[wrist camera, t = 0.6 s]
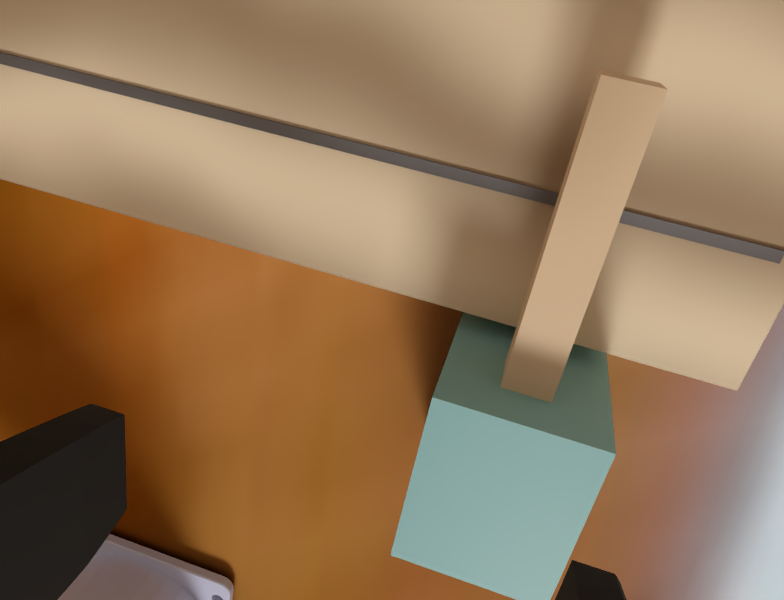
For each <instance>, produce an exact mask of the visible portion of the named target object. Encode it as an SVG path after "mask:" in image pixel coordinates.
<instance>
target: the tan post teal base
mask: <svg viewBox="0 0 784 600" xmlns="http://www.w3.org/2000/svg"><path fill="white" fill-rule="evenodd" d="M667 92H668V89H667V88H666V87H665V86H663V85H662V84H661V83H659V82H654V81H650V80H645V79H641V78H636V77H632V76H627V75H623V74H618V73H614V72H609V71H605V70H600V69H599V70H598V73H597V76H596V79H595V83H594V86H593V89H592V92H591V95H590V98H589V101H588V104H587V108H586V111H585V114H584V117H583V120H582V123H581V126H580V130H579V133H578V136H577V139H576V142H575V145H574V148H573V151H572V155H571V158H570V161H569V164H568V167H567V170H566V173H565V176H564V180H563V183H562V186H561V189H560V192H559V195H558V198H557V202H556V205H555V208H554V211H553V214H552V217H551V220H550V223H549V227H548V230H547V233H546V236H545V239H544V242H543V245H542V249H541V252H540V255H539V258H538V261H537V264H536V267H535V270H534V274H533V277H532V280H531V283H530V286H529V289H528V292H527V296H526V299H525V302H524V305H523V308H522V311H521V314H520V317H519V321H518V324H517V327H514V326H510V325H507V324H503V323H500V322H496V321H493V320H489V319H486V318H482V317H479V316H475V315H472V314H468V313H465V312H463V314H462V317H461V320H460V322H459V325H458V328H457V331H456V333H455V336H454V339H453V342H452V344H451V347H450V350H449V353H448V355H447V358H446V361H445V363H444V366H443V369H442V372H441V374H440V377H439V380H438V383H437V385H436V388H435V391H434V394H433V396H432V400H431V404H430V407H429V411H428V415H427V419H426V423H425V426H424V430H423V434H422V438H421V442H420V445H419V449H418V453H417V457H416V461H415V464H414V468H413V472H412V476H411V479H410V483H409V487H408V491H407V495H406V498H405V502H404V506H403V510H402V514H401V517H400V521H399V525H398V529H397V532H396V536H395V540H394V544H393V548H392V551H391V556H394V557H397V558H400V559H403V560H406V561H408V562H411V563H414V564H417V565H420V566H423V567H426V568H428V569H431V570H434V571H437V572H440V573H443V574H445V575H448V576H451V577H454V578H457V579H460V580H462V581H465V582H468V583H471V584H474V585H477V586H479V587H482V588H485V589H488V590H491V591H494V592H496V593H499V594H502V595H505V596H508V597H511V598H514V599H516V600H550V599H551V597H552V595H553V593H554V590H555V588H556V586H557V584H558V582H559V579H560V577H561V575H562V573H563V571H564V568H565V566H566V564H567V562H568V559H569V557H570V555H571V553H572V551H573V548H574V546H575V544H576V542H577V540H578V537H579V535H580V533H581V531H582V528H583V526H584V524H585V522H586V520H587V517H588V515H589V513H590V511H591V509H592V506H593V504H594V502H595V500H596V497H597V495H598V493H599V491H600V489H601V486H602V484H603V482H604V480H605V477H606V475H607V473H608V471H609V469H610V466H611V464H612V462H613V460H614V458H615V455H616V449H615V439H614V428H613V418H612V407H611V397H610V386H609V376H608V366H607V355H606V353H604V352H600V351H597V350H593V349H590V348H587V347H583V346H580V345H576V344H574V341H575V338H576V336H577V333H578V330H579V328H580V325H581V322H582V320H583V317H584V314H585V312H586V309H587V306H588V304H589V301H590V298H591V296H592V293H593V290H594V287H595V285H596V282H597V279H598V277H599V274H600V271H601V269H602V266H603V263H604V261H605V258H606V255H607V253H608V250H609V247H610V245H611V242H612V239H613V236H614V234H615V231H616V228H617V226H618V223H619V220H620V218H621V215H622V212H623V210H624V207H625V204H626V202H627V199H628V196H629V194H630V191H631V188H632V185H633V183H634V180H635V177H636V175H637V172H638V169H639V167H640V164H641V161H642V159H643V156H644V153H645V151H646V148H647V145H648V143H649V140H650V137H651V134H652V132H653V129H654V126H655V124H656V121H657V118H658V116H659V113H660V110H661V108H662V105H663V102H664V100H665V97H666V94H667Z"/></svg>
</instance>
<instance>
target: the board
mask: <svg viewBox="0 0 784 600" xmlns="http://www.w3.org/2000/svg"><path fill="white" fill-rule="evenodd" d="M599 69H600V70H605V71H609V72H614V73H618V74H623V75H627V76H632V77H636V78H641V79H645V80H650V81H654V82H659V83H661V84H662V85H663V86H665V87H666V88H667V89H668V92H667V94H666V97H665V100H664V102H663V105H662V108H661V110H660V113H659V116H658V118H657V121H656V124H655V126H654V129H653V132H652V134H651V137H650V140H649V143H648V145H647V148H646V151H645V153H644V156H643V159H642V161H641V164H640V167H639V169H638V172H637V175H636V177H635V180H634V183H633V185H632V188H631V191H630V194H629V196H628V199H627V202H626V204H625V207H624V210H623V212H622V215H621V218H620V220H619V223H618V226H617V228H616V231H615V234H614V236H613V239H612V242H611V245H610V247H609V250H608V253H607V255H606V258H605V261H604V263H603V266H602V269H601V271H600V274H599V277H598V279H597V282H596V285H595V287H594V290H593V293H592V296H591V298H590V301H589V304H588V306H587V309H586V312H585V314H584V317H583V320H582V322H581V325H580V328H579V330H578V333H577V336H576V338H575V341H574V344H576V345H580V346H583V347H587V348H590V349H593V350H597V351H600V352H604V353H607V354H611V355H614V356H618V357H621V358H625V359H628V360H632V361H635V362H639V363H642V364H646V365H649V366H653V367H656V368H660V369H663V370H667V371H670V372H673V373H677V374H680V375H684V376H687V377H691V378H694V379H698V380H701V381H705V382H708V383H712V384H715V385H719V386H722V387H726V388H729V389H733V390H736V391H737V390H738V388H739V386H740V384H741V383H742V381H743V379H744V377H745V375H746V373H747V371H748V369H749V368H750V366H751V364H752V362H753V360H754V358H755V356H756V354H757V353H758V351H759V349H760V347H761V345H762V343H763V341H764V339H765V338H766V336H767V334H768V332H769V330H770V328H771V326H772V324H773V323H774V321H775V319H776V317H777V315H778V313H779V311H780V309H781V308H782V306H783V304H784V0H0V179H2V180H6V181H9V182H13V183H16V184H20V185H23V186H27V187H30V188H34V189H37V190H41V191H44V192H48V193H51V194H54V195H58V196H61V197H65V198H68V199H72V200H75V201H79V202H82V203H86V204H89V205H93V206H96V207H100V208H103V209H107V210H110V211H114V212H117V213H121V214H124V215H127V216H131V217H134V218H138V219H141V220H145V221H148V222H152V223H155V224H159V225H162V226H166V227H169V228H173V229H176V230H180V231H183V232H187V233H190V234H194V235H197V236H201V237H204V238H207V239H211V240H214V241H218V242H221V243H225V244H228V245H232V246H235V247H239V248H242V249H246V250H249V251H253V252H256V253H260V254H263V255H267V256H270V257H274V258H277V259H281V260H284V261H287V262H291V263H294V264H298V265H301V266H305V267H308V268H312V269H315V270H319V271H322V272H326V273H329V274H333V275H336V276H340V277H343V278H347V279H350V280H354V281H357V282H360V283H364V284H367V285H371V286H374V287H378V288H381V289H385V290H388V291H392V292H395V293H399V294H402V295H406V296H409V297H413V298H416V299H420V300H423V301H427V302H430V303H434V304H437V305H440V306H444V307H447V308H451V309H454V310H458V311H461V312H465V313H468V314H472V315H475V316H479V317H482V318H486V319H489V320H493V321H496V322H500V323H503V324H507V325H510V326H514V327H517V324H518V321H519V317H520V314H521V311H522V308H523V305H524V302H525V299H526V296H527V292H528V289H529V286H530V283H531V280H532V277H533V274H534V270H535V267H536V264H537V261H538V258H539V255H540V252H541V249H542V245H543V242H544V239H545V236H546V233H547V230H548V227H549V223H550V220H551V217H552V214H553V211H554V208H555V205H556V202H557V198H558V195H559V192H560V189H561V186H562V183H563V180H564V176H565V173H566V170H567V167H568V164H569V161H570V158H571V155H572V151H573V148H574V145H575V142H576V139H577V136H578V133H579V130H580V126H581V123H582V120H583V117H584V114H585V111H586V108H587V104H588V101H589V98H590V95H591V92H592V89H593V86H594V83H595V79H596V76H597V73H598V70H599Z"/></svg>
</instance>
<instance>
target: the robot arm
mask: <svg viewBox="0 0 784 600" xmlns="http://www.w3.org/2000/svg"><path fill="white" fill-rule="evenodd" d="M126 509H127V499H126V459H125V420H124V414H121V413H118V412H115V411H112V410H109V409H106V408H103V407H99V406H96V405H93V404H89V405H87V406H84V407H81V408H79V409H76V410H74V411H71V412H69V413H66V414H64V415H62V416H59V417H57V418H54V419H52V420H50V421H47V422H45V423H43V424H40V425H38V426H36V427H33V428H31V429H29V430H26V431H24V432H22V433H20V434H17V435H15V436H13V437H10V438H8V439H6V440H3V441H1V442H0V600H233V592H234V587H233V584H232V582H231V581H230V580H229V579H228V578H226V577H225V576H222V575H219V574H217V573H214V572H211V571H209V570H206V569H203V568H201V567H198V566H195V565H193V564H190V563H187V562H185V561H182V560H179V559H176V558H174V557H171V556H168V555H166V554H163V553H160V552H158V551H155V550H152V549H150V548H147V547H144V546H141V545H139V544H136V543H133V542H131V541H128V540H125V539H123V538H120V537H117V536H115V535H112V534H110V533H111V531H112V530H113V528H114V527H115V525H116V524H117V522H118V521H119V519H120V518H121V516H122V515H123V513H124V512H125V510H126ZM555 600H626V598H625V595H624V592H623V589H622V586H621V584H620V582H619V580H618V578H617V576H616V575H615V574H613V573H610V572H607V571H604V570H601V569H598V568H595V567H592V566H589V565H586V564H583V563H579V562H576V561H573V560H572V562H571V564H570V566H569V569H568V571H567V573H566V576H565V578H564V580H563V583H562V585H561V587H560V590H559V592H558V594H557V597H556V599H555Z"/></svg>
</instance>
